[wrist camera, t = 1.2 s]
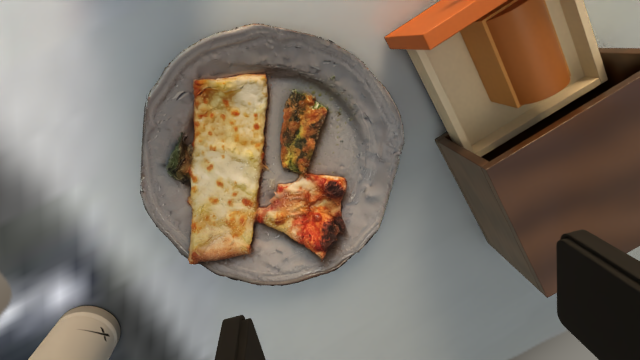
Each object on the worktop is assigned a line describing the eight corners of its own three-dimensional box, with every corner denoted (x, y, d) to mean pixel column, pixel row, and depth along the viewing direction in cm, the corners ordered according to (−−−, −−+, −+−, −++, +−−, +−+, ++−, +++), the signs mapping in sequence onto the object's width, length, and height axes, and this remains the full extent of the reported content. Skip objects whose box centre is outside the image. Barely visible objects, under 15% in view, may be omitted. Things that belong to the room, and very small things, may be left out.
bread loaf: (455, 23, 34) (493, 19, 28) (506, -9, 33) (555, -21, 27) (490, 101, 36) (530, 112, 31) (537, 72, 36) (587, 77, 30)
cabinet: (434, 139, 39) (485, 170, 29) (582, 47, 37) (687, 48, 28) (488, 243, 44) (547, 298, 34) (621, 165, 42) (721, 200, 33)
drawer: (368, 7, 34) (402, -7, 25) (535, -105, 32) (637, -163, 23) (447, 160, 39) (499, 194, 30) (593, 71, 38) (692, 79, 29)
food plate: (356, 286, 44) (363, 306, 40) (141, 260, 40) (128, 280, 36) (420, 60, 36) (434, 62, 33) (161, 1, 32) (148, -4, 29)
